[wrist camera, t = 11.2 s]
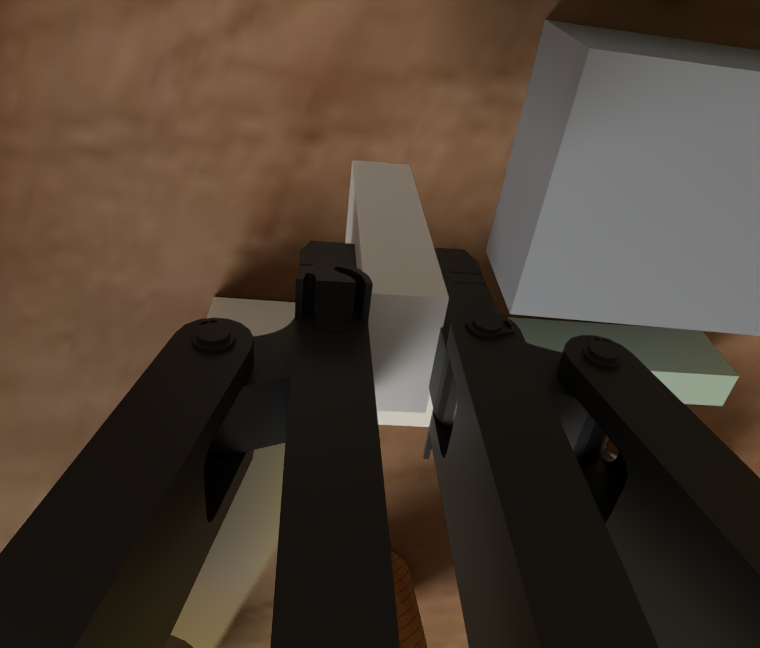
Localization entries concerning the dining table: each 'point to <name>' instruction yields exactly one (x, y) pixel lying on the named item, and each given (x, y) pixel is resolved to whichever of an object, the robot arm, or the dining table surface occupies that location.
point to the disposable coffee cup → (406, 606)
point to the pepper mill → (176, 643)
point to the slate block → (634, 184)
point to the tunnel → (649, 344)
